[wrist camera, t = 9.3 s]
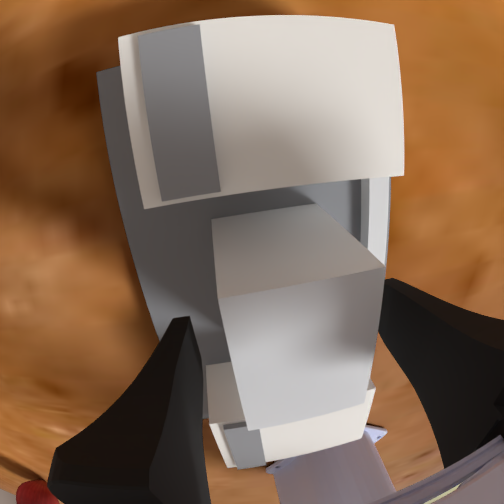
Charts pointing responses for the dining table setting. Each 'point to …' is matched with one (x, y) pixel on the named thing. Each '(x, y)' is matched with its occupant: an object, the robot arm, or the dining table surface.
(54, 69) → the dining table surface
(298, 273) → the block
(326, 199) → the board
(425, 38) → the dining table surface
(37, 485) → the onion
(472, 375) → the robot arm
